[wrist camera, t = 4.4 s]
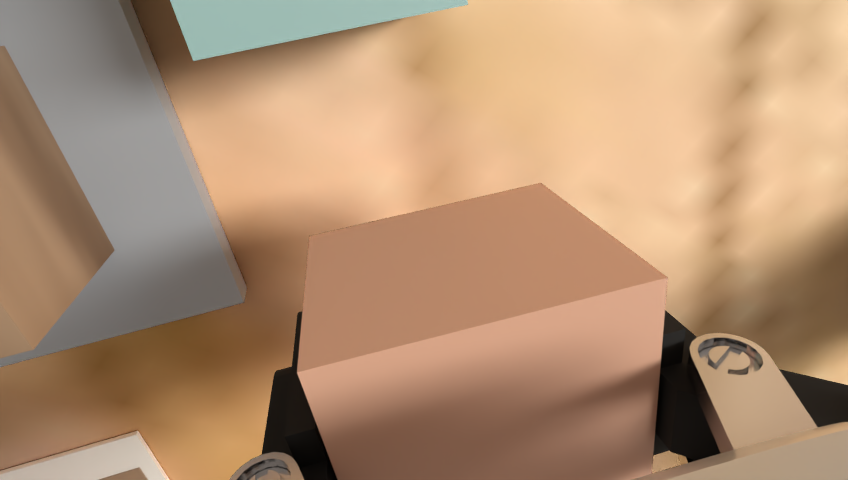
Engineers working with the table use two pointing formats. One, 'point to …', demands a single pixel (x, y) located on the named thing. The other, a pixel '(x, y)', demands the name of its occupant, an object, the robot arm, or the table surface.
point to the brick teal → (283, 20)
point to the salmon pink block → (483, 344)
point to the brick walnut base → (39, 222)
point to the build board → (121, 170)
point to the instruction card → (95, 463)
